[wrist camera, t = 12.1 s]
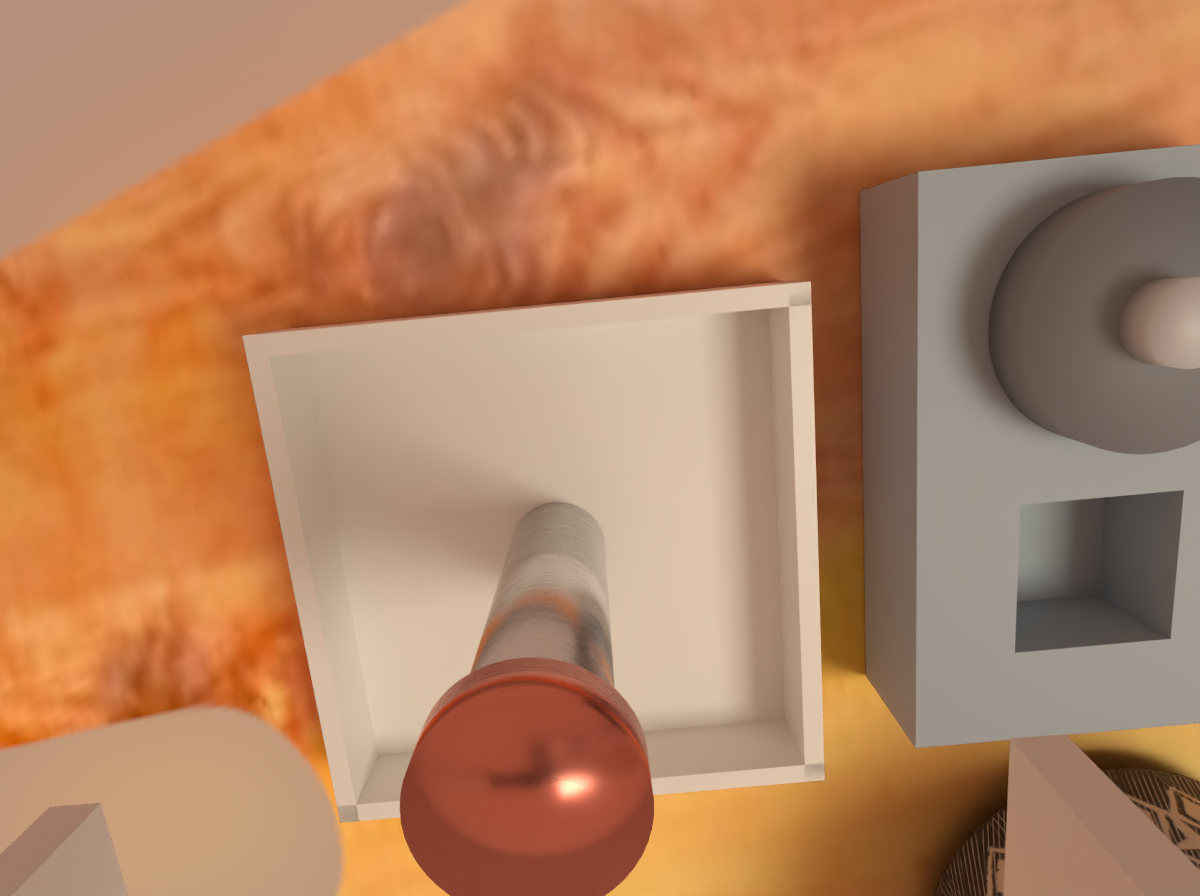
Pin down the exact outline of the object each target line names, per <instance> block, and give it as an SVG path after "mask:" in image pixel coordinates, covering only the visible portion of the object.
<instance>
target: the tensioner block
mask: <svg viewBox="0 0 1200 896" xmlns="http://www.w3.org/2000/svg"><path fill="white" fill-rule="evenodd" d="M860 248H861V328H862V407H863V487H864V567H865V646H866V677H867V678H868V680H869V681H870V683H871V684H872V686H873V687H874V688H875V690H876V691H877V693H878V694H879V696H880V697H881V699H882V700H883V701H884V703H885V704H886V706H887V707H888V709H889V710H890V712H891V713H892V715H893V716H894V717H895V719H896V720H897V722H898V723H899V725H900V726H901V728H902V729H903V730H904V732H905V733H906V735H907V736H908V738H909V739H910V741H911V742H912V743H913V745H914V746H915V748H924V747H935V746H946V745H958V744H969V743H980V742H992V741H1003V740H1010V738H1022V737H1036V736H1050V735H1064V734H1066V735H1071V734H1082V733H1093V732H1105V731H1116V730H1127V729H1139V728H1150V727H1161V726H1173V725H1184V724H1195V723H1200V144H1198V145H1188V146H1178V147H1167V148H1157V149H1147V150H1136V151H1126V152H1116V153H1105V154H1095V155H1085V156H1074V157H1064V158H1054V159H1043V160H1033V161H1023V162H1013V163H1002V164H992V165H982V166H971V167H961V168H951V169H940V170H930V171H920V172H916V173H913V174H910V175H907V176H904V177H901V178H898V179H895V180H892V181H889V182H886V183H883V184H880V185H877V186H874V187H871V188H868V189H865V190H862V191H860Z"/></svg>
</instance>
